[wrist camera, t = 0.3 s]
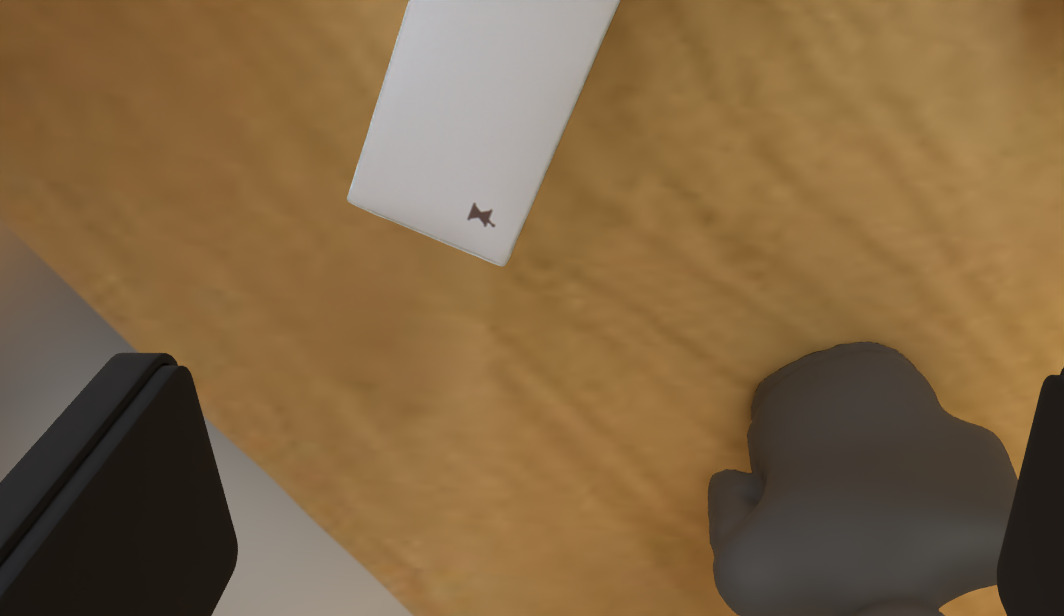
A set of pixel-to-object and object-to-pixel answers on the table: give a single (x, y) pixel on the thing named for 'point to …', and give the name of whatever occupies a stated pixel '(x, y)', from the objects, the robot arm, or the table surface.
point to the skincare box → (475, 115)
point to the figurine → (858, 494)
